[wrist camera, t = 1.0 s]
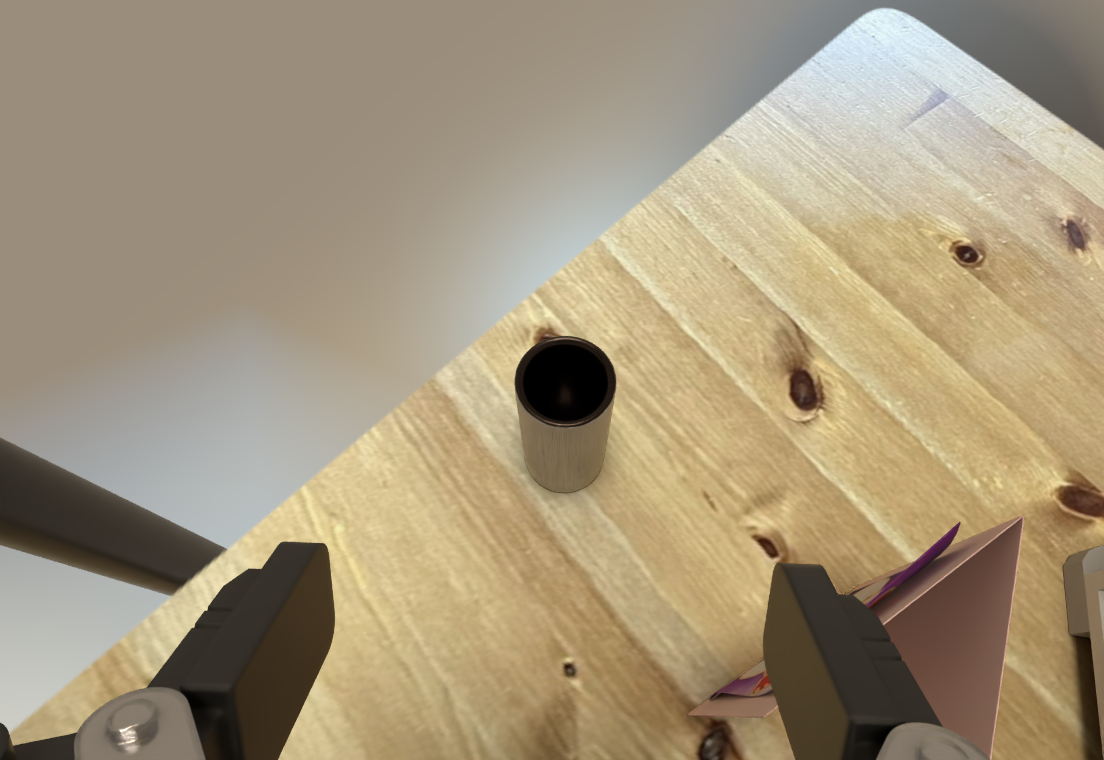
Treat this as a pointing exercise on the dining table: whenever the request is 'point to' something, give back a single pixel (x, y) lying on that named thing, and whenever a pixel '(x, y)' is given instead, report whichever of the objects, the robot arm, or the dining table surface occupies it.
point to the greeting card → (930, 632)
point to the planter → (565, 411)
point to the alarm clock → (1088, 611)
